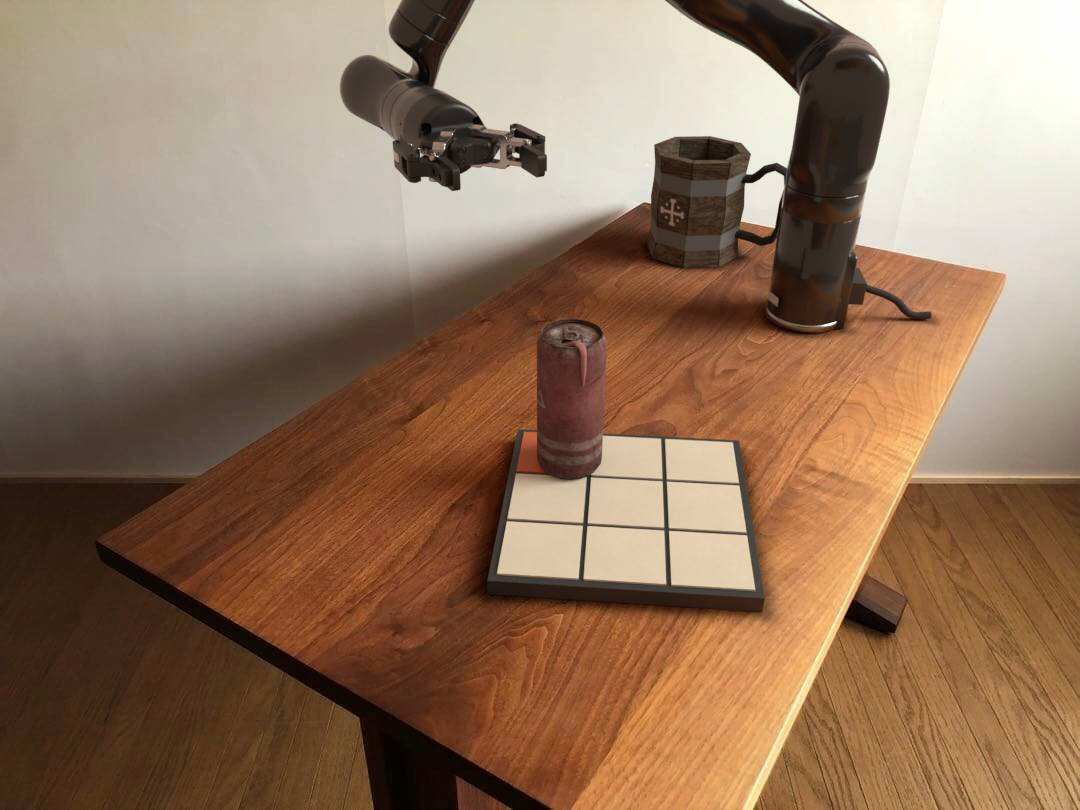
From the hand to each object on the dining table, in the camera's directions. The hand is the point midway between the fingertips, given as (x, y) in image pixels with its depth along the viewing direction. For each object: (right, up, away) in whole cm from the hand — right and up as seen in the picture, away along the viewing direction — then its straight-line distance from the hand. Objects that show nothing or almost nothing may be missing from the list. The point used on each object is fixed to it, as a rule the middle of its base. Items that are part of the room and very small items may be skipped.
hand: (500, 173), depth 83 cm
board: (+11, -31, -1) cm, 33 cm away
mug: (+29, +1, +50) cm, 58 cm away
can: (+6, -27, +3) cm, 28 cm away
